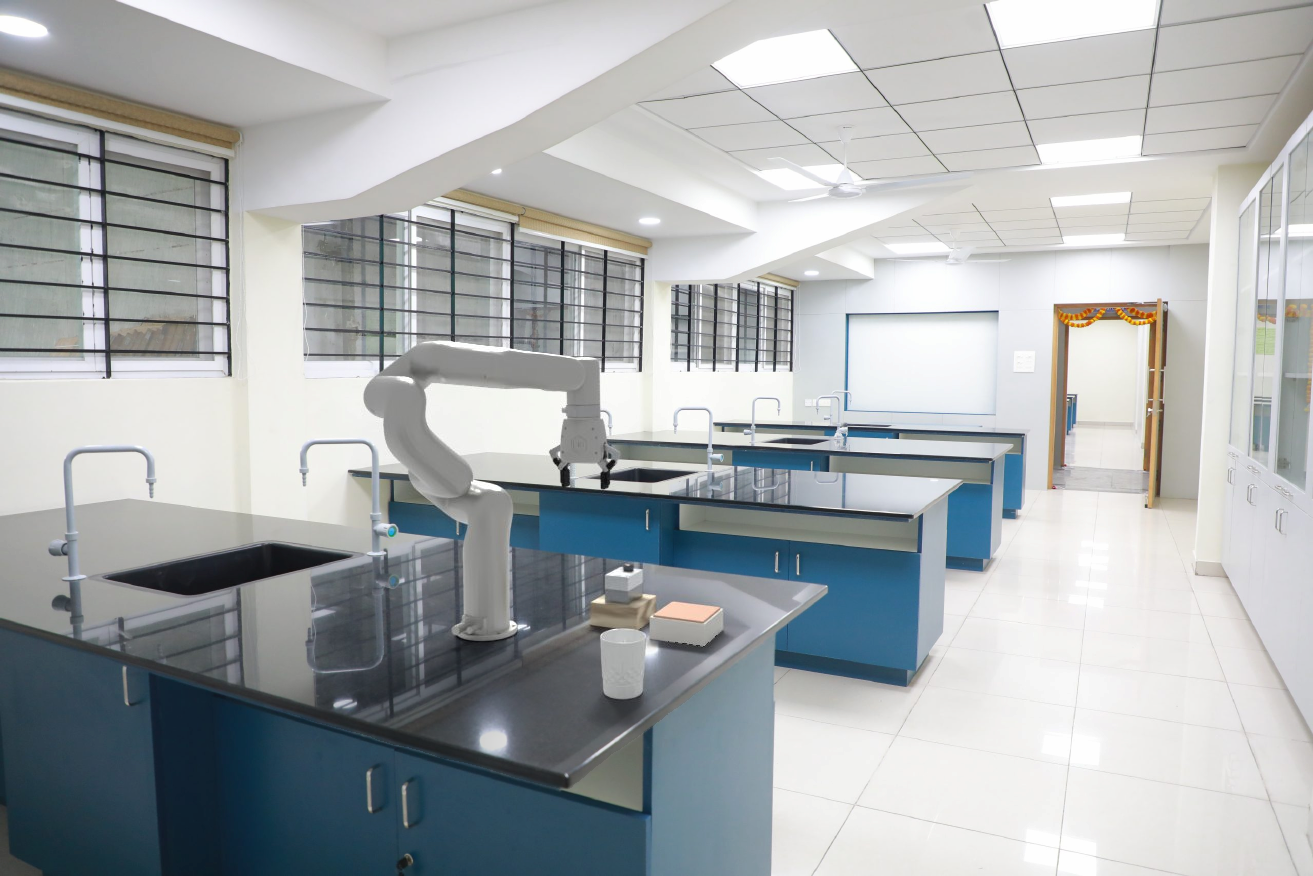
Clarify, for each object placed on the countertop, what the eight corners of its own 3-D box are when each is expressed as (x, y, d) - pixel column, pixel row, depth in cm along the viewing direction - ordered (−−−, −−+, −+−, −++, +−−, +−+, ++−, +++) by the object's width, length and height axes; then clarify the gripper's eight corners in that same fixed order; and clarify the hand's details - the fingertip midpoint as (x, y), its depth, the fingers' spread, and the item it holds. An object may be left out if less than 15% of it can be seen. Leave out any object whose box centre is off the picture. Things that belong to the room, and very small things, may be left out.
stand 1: (636, 631, 177) (636, 608, 177) (590, 624, 182) (590, 602, 181) (656, 617, 188) (656, 595, 187) (612, 611, 192) (612, 590, 191)
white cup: (621, 680, 150) (621, 625, 149) (655, 691, 145) (655, 634, 144) (590, 693, 144) (590, 636, 143) (624, 705, 139) (625, 646, 138)
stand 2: (704, 646, 168) (704, 622, 168) (649, 639, 173) (649, 615, 172) (722, 629, 179) (723, 607, 179) (670, 622, 184) (671, 600, 183)
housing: (627, 605, 180) (628, 572, 179) (604, 602, 182) (604, 569, 181) (642, 595, 187) (642, 564, 186) (620, 593, 189) (620, 561, 188)
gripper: (541, 413, 187) (543, 488, 189) (612, 414, 181) (614, 492, 183) (556, 411, 194) (558, 483, 196) (625, 411, 189) (626, 486, 190)
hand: (585, 487), depth 190 cm, fingers open, 9 cm apart
